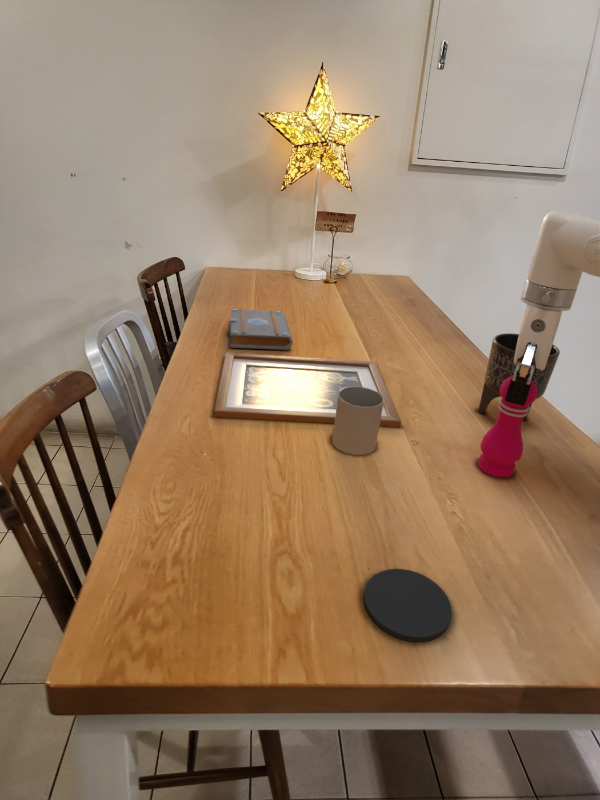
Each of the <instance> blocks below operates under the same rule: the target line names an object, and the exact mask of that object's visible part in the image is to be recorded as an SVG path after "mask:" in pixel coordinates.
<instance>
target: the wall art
mask: <svg viewBox="0 0 600 800" xmlns="http://www.w3.org/2000/svg"><path fill="white" fill-rule="evenodd" d="M347 387H364V388H369V389H372V390H374V391H376V392H378V393H379V394H381V395H382V396H383V399H384V403H383V409H382V414H381V420H380V426H379V427H389V428H400V427H401V425H402V420H401V417H400V415H399V414H398V411H397V409H396V406H395V404H394V402H393V399H392V397H391V394H390V393H389V390H388V387H387V385H386V383H385V380H384V379H383V376H382V374H381V371H380V369H379V367H378V365H377V362H376V361H370V360H369V361H367V360H353V359H352V360H351V359H339V358H338V359H336V358H323V357H322V358H321V357H307V356H306V357H305V356H293V355H292V356H291V355H278V354H277V355H275V354H262V353H261V354H259V353H245V352H230V351H226V352H225V355H224V359H223V365H222V369H221V373H220V379H219V384H218V389H217V394H216V399H215V404H214V408H213V417H214V418H225V419H243V420H259V421H260V420H261V421H262V420H263V421H278V422H280V421H281V422H296V423H301V422H302V423H317V424H332V425H334V423H335V416H336V408H337V401H338V394H339V391H340V390H342V389H343V388H347Z"/></svg>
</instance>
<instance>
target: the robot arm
mask: <svg viewBox="0 0 600 800" xmlns="http://www.w3.org/2000/svg"><path fill="white" fill-rule="evenodd" d="M530 260H531V261H530V264H529V268H528V271H527V275H526V278H525V282H524V285H523V288H522V292H521V295H520V301H521V302H522V303H524V304H526V308H525V311H524V314H523V318H522V321H521V325H520V329H519V333H518V334H519V337H518V341H517V346H516V351H515V356H514V363H515V364H516V365H517V366H516V369H515V372H514V375H513V379H512V378H511V380H510V384H509V387H508V391H507V394H506V397H505V401H506V402H509V403H513V404H517V405H520V406H524V405H525V403H526V400H527V397H528V394H529V391H530V387H531V384H532V383H530V382H531V380H533V377H534V373H535V370H536V368H537V369H540V371H542V370H544V369H545V366H546V363H547V360H548V357H549V354H550V351H551V348H552V345H554V342H555V338H556V335H557V332H558V330H559V329H558V328H559V326H560V322H561V319H562V314H563V312H565V311H570V310H571V308H572V305H573V302H574V299H575V296H576V293H577V290H578V287H579V284H580V281H581V278H582V275H583V273H585V274H587V275H590V276H593V277H598V278H600V220H597V219H596V218H595V217H594V216H592V215H589V214H586V213H581V212H576V211H567V210H553V211H549V212H548V213H547V214H546V215H545V216H544V217H543V219H542V221H541V225H540V228H539V232H538V235H537V238H536V242H535V247H534V250H533V253H532V256H531V259H530ZM521 361H523V362H521ZM532 363H533V364H532ZM527 379H528V380H527Z"/></svg>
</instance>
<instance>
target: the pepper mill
mask: <svg viewBox="0 0 600 800" xmlns="http://www.w3.org/2000/svg"><path fill="white" fill-rule="evenodd" d="M511 378H512V379H513V376H511V377H509V378H507V379H506V380H504V381H503V383H502V385H501V387H500V395H501V397H500V399H499V404H498V406H497V408H498V410H499V413H498V416H497V419H496V421H495V423H493V425H492V426H491V427H490V428H489V429H488V431H487V432H486V433H485V434H484V436H483V437H482V440H481V442H480V446H479V447H480V451H481V454H480V455H479V459H478V463H477V466H478V467H479V469H480V470H481V471H482V472H483V473H485V474H487V475H489V476H491V477H495V478H500V479H501V478H502V479H504V478H505V479H506V478H510V477H511V476H512V475H513V474H514V472H515V468H516V463H517V462H518V461H520V459H521V458H522V456H523V452H524V440H523V436H522V424H523V421H524V420H523V418H524V416H527V415H528V416H529V414H528V410H529V409H530V410H531V408H530V407H529V405H530V404H532V405H533V403H534V402H535V401H536V400H537V399H536V397H537V387H536V385H535V383H534V382H533V381H532V380H531V382H530V383H532V384H531V387H530V391H529V394H528V397H527V400H526V403H525V405H524V406H520V405H517V404H513V403H509V402H506V401H505V397H506V394H507V391H508V387H509V384H510V380H511ZM527 380H528V379H527ZM528 416H527V417H528Z"/></svg>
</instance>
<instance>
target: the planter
mask: <svg viewBox="0 0 600 800" xmlns="http://www.w3.org/2000/svg"><path fill="white" fill-rule="evenodd" d="M518 337H519V333H499V334H497V335H495V336H494V337H493V338H492V343H491V347H490V352H489V356H488V361H487V365H486V371H485V374H484V375H485V376H484V383H483V388H482V393H481V397H480V401H479V402H480V403H479V407H478V410H477V411H478V413H481V414H485V413H486V411H487V409H488V407H489V404H491V402H492V401H493V400H494V399H496V398H502V397H501V395H500V387H501V385H502V383H503V381H504V380H506V379H507V378H509V377H511V376H513V375H514V372H515V369H516V366H517V365H516V364H515V363H514V356H515V351H516V346H517V341H518ZM560 354H561V351H560V349H559V348H558V346H557V345H555V344H553V345H552V348H551V351H550V354H549V357H548V360H547V363H546V366H545V369H544V370H542V371H540V369H537V368H536V370H535V373H534V377H533V380H532V381H533V382H534V383H535V385H536V387H537V397H536V400H538V399H540V398H542V396H544V394H546V393H545V392H546V391H547V388H548V385H549V383H550V380H551V378H552V375H553V372H554V369H555V367H556V364H557V362H558V359H559V356H560ZM521 362H523V361H521ZM532 364H533V363H532ZM532 405H533V403H532V404H530V405H529V407H530V409H529V410H528V415H527V416H524V418H523V420H522V421H525V420H527V419H528V416H529V413H530V411H531V408H532Z"/></svg>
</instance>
